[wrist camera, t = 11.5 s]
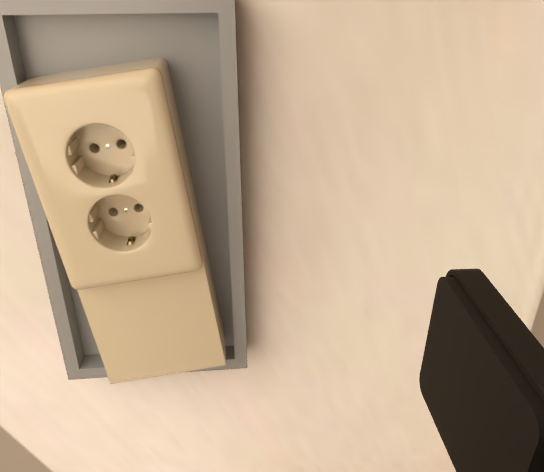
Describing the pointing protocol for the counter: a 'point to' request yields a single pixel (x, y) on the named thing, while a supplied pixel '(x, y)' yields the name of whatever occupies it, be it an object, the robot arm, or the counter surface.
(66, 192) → the electrical outlet
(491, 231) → the counter surface
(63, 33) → the grey rectangular tray
